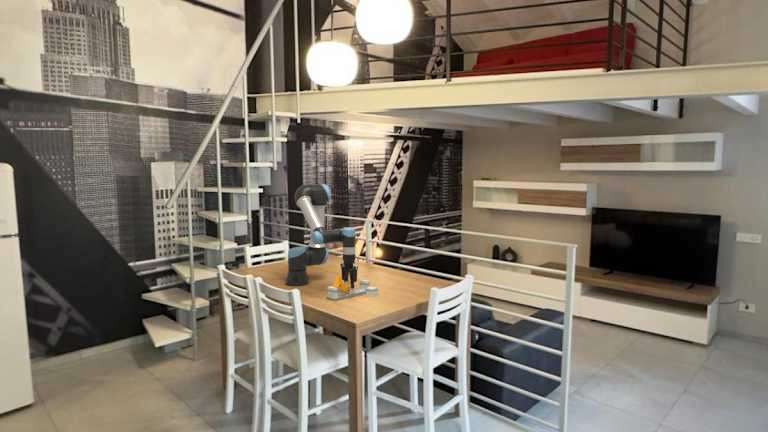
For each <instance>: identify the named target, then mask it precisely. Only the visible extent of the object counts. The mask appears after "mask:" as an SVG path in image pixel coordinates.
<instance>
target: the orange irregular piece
mask: <svg viewBox="0 0 768 432" xmlns="http://www.w3.org/2000/svg"><path fill="white" fill-rule="evenodd" d="M342 281H343V280H342V276H339V275H337V276H336V277H335V280H334V282H333V284H332V286H333V287H337V288H338V291H339V290H340V291H341V292H342V293H347V294H349V293H350V292H349V283H350V281H349V282H348V283H347V285H346V286H345V283H343V282H342Z"/></svg>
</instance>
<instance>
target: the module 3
mask: <svg viewBox="0 0 768 432" xmlns="http://www.w3.org/2000/svg"><path fill="white" fill-rule="evenodd" d="M378 293H379V289H378V287H376V286H370V287H368V288H366V294H365V297H367V298H368V297H369V298H371V299H372V298H375V297H378Z"/></svg>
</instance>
